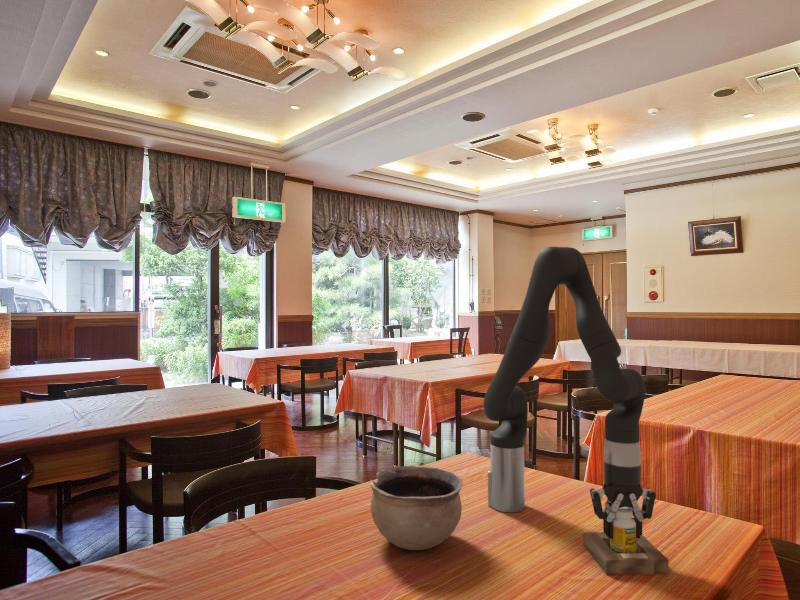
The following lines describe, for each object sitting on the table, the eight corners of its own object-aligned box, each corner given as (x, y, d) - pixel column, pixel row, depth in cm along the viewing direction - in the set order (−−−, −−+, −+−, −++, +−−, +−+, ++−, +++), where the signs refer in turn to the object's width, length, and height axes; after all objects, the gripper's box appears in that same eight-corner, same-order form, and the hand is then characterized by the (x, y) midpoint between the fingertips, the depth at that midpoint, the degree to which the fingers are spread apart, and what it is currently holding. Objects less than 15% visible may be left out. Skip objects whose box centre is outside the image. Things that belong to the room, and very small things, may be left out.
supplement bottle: (619, 544, 117) (619, 502, 117) (641, 554, 113) (641, 510, 113) (604, 551, 114) (604, 507, 114) (627, 561, 110) (626, 516, 110)
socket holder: (606, 574, 107) (606, 559, 107) (583, 545, 120) (583, 531, 120) (668, 574, 107) (668, 558, 107) (639, 544, 120) (638, 530, 120)
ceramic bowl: (396, 516, 137) (396, 460, 137) (475, 531, 127) (474, 471, 127) (353, 553, 117) (352, 487, 117) (442, 574, 107) (442, 502, 108)
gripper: (596, 465, 110) (597, 545, 110) (663, 465, 110) (664, 544, 110) (583, 455, 117) (584, 529, 117) (646, 454, 117) (647, 529, 117)
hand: (622, 536), depth 113 cm, fingers closed on supplement bottle, 5 cm apart
